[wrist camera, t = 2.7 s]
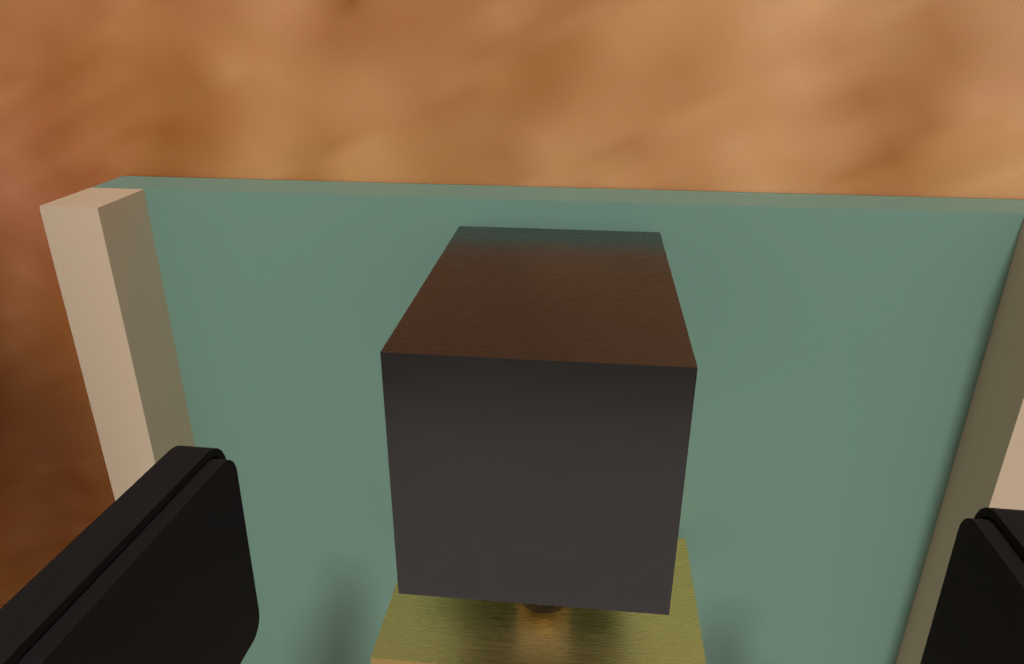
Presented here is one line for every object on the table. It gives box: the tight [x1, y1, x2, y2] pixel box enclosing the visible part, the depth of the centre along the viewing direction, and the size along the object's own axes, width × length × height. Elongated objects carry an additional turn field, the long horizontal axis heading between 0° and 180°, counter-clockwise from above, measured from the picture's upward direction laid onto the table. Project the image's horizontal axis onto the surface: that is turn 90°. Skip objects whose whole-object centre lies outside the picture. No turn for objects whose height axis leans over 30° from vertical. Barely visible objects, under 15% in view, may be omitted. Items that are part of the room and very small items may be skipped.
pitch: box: [39, 176, 1024, 664], centre depth 19 cm, size 22×20×3 cm
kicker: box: [371, 226, 706, 664], centre depth 14 cm, size 9×6×6 cm
